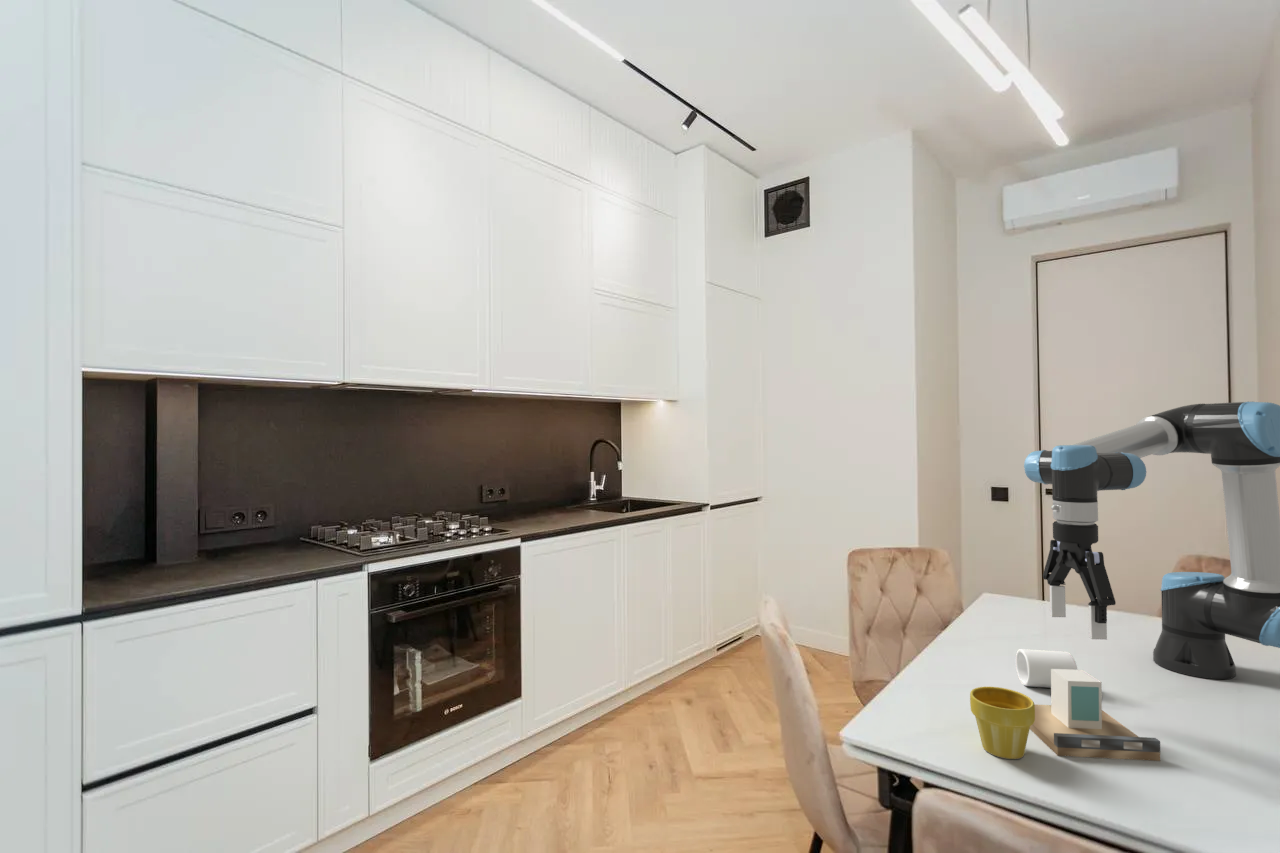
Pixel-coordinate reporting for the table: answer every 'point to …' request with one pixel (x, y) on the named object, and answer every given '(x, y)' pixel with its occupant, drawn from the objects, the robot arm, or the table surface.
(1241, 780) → the table surface
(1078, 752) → the shelf board
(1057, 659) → the mug
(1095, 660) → the table surface
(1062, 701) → the carton
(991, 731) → the plant pot
